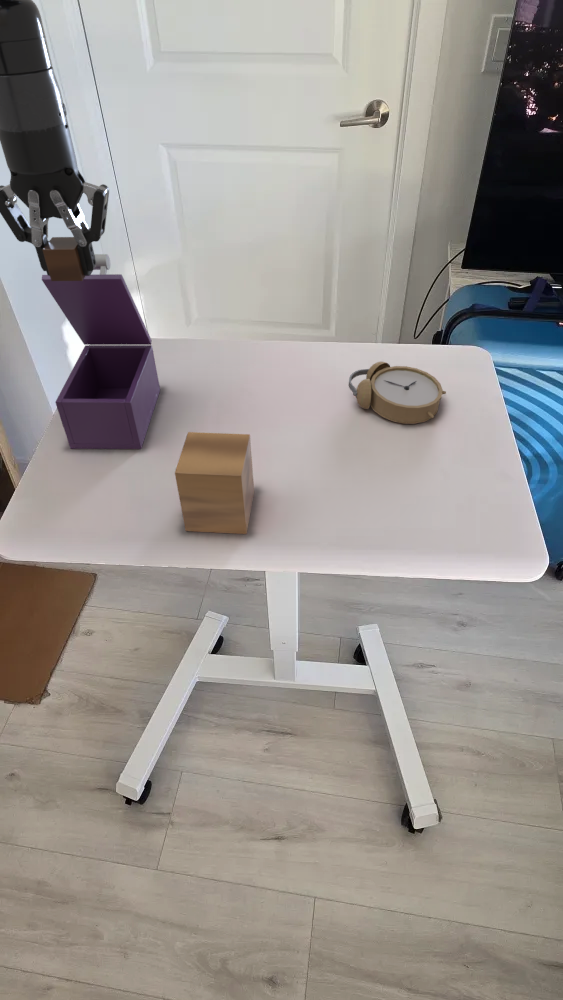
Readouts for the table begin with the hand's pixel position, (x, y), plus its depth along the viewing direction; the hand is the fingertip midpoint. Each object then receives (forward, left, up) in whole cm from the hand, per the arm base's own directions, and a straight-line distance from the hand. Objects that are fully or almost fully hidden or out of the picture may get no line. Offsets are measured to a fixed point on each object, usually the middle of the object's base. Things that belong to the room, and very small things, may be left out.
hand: (71, 272), depth 79 cm
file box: (+2, +3, -25) cm, 25 cm away
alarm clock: (+43, -13, -25) cm, 51 cm away
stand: (+9, -24, -25) cm, 36 cm away
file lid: (+3, +6, -9) cm, 12 cm away
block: (0, 0, 0) cm, 0 cm away
